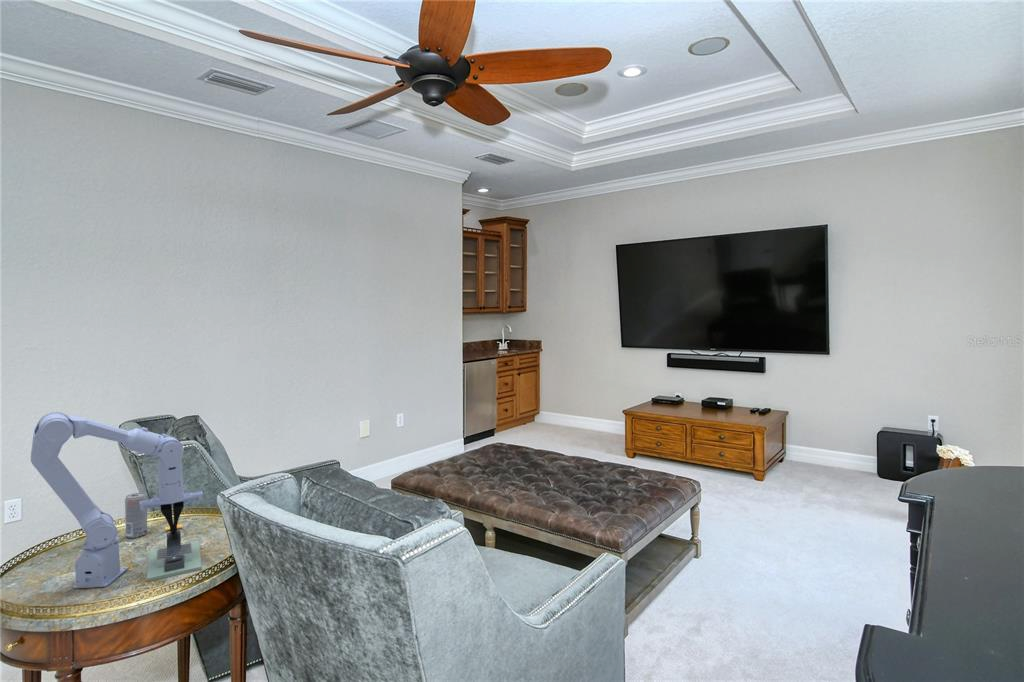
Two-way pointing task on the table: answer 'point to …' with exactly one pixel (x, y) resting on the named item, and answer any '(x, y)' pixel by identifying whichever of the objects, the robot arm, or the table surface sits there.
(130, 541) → the table surface
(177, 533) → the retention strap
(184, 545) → the heat sink
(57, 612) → the table surface
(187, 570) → the socket board
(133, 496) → the energy drink
